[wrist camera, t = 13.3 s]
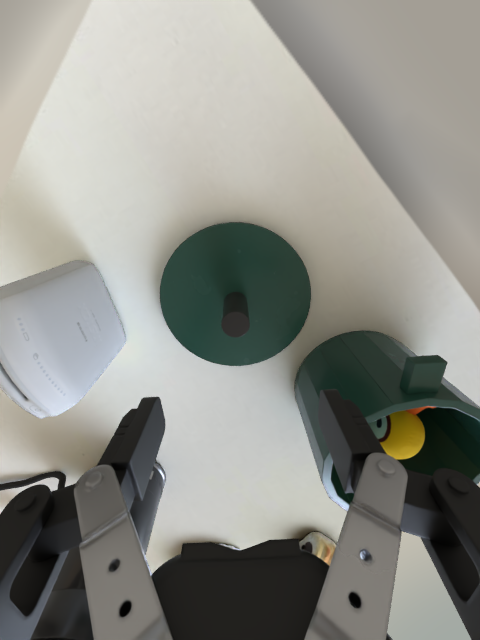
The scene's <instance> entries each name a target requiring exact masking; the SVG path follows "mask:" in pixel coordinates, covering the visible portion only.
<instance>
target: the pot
mask: <svg viewBox="0 0 480 640" xmlns="http://www.w3.org/2000/svg"><path fill="white" fill-rule="evenodd" d="M446 365H447V361H445V360H444V359H442V358H441V357H440V356H438V355H432V356H417V355H416V354H414V353H413V352H412V351H411V350H409V349H408V348H407V347H406V346H405V345H403V344H402V343H401V342H399V341H397V340H395V339H394V338H392V337H390V336H388V335H385V334H383V333H379V332H373V331H354V332H349V333H344V334H341V335H338V336H335V337H333V338H331V339H329V340H327V341H325V342H324V343H322V344H320V345H319V346H318V347H317V348H315V349H314V350H313V351H312V352H311V353H310V354H309V355H308V356H307V357H306V359H305V360H304V361H303V363H302V364H301V366H300V368H299V370H298V372H297V376H296V379H295V398H296V401H297V404H298V407H299V410H300V414H301V417H302V420H303V423H304V426H305V430H306V433H307V436H308V439H309V443H310V446H311V449H312V452H313V455H314V459H315V462H316V465H317V468H318V471H319V475H320V478H321V481H322V483H323V485H324V488H325V490H326V492H327V494H328V496H329V498H330V499H332V500H333V501H334V502H335V503H337V504H338V505H339V506H340V507H342V508H343V509H344V510H346V511H348V509H349V506H350V503H351V501H352V500H353V498H354V493H345V492H344V489H343V487H342V484H341V481H340V479H339V476H338V473H337V471H336V468H335V465H334V463H333V460H332V457H331V455H330V452H329V449H328V447H327V444H326V441H325V439H324V436H323V433H322V431H321V428H320V425H319V420H318V408H319V398H320V391H321V390H328V389H337V390H338V391H339V393H340V395H341V397H342V399H343V400H347V399H349V400H351V401H352V402H353V403H354V404H355V405H357V406H358V407H359V409H360V411H361V412H362V414H363V416H364V418H365V419H366V421H367V422H368V424H369V423H372V422H374V421H376V420H378V419H380V418H383V417H385V416H387V415H389V414H392V413H394V412H398V411H404V410H409V409H415V408H420V407H426V406H431V407H436V408H429V407H428V408H425V409H424V410H422V411H421V412H419V413H418V414H416V415H417V416H418V417H419V419H420V420H421V422H422V423H423V426H424V430H425V439H424V443H423V446H422V448H421V450H420V451H419V452H418V453H417V454H416V455H414V456H413V457H410V458H407V459H396V460H397V461H399V462H400V463H401V464H402V465H403V467H404V468H405V469H408V470H411V471H414V472H418V473H422V474H427V475H431V476H433V474H434V472H435V471H436V470H437V469H440V468H448V469H452V470H456V471H458V472H460V473H462V474H464V475H465V476H467V477H469V478H470V479H471V480H472V481H473V482H475V483H476V484H478V483H479V482H480V407H479V406H478V405H477V404H475V403H474V402H473V401H472V400H470V399H469V398H468V397H467V396H466V395H464V394H463V393H462V392H461V391H459V390H458V389H457V388H456V387H455V386H453V385H452V384H451V383H450V382H448V381H447V380H446V379H445V378H444V377H443V375H444V372H445V368H446Z"/></svg>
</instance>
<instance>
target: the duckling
mask: <svg viewBox="0 0 480 640" xmlns="http://www.w3.org/2000/svg"><path fill="white" fill-rule="evenodd" d="M428 407H429V408H436V407H431V406H426V407H420V408H415V409H409V410H404V411H398V412H394V413H392V414H389V415H387V416H385V417H383V418H380V419H378V420H376V421H374V422H372V423H369V424H368V425H369V426H370V427H371V429H372V431H373V432H374V434H375V436H376V437H377V439H378V441H379V442H380V444H381V446H382V447H383V449H384V450H385V452H386V454H387V455H389V456H391V457H393V458H395V459H407V458H410V457H413V456H414V455H416V454H417V453H418V452H419V451H420V450H421V448H422V446H423V443H424V439H425V430H424V426H423V423H422V422H421V420H420V419H419V417H418V416H417V415H416V414H418V413H419V412H421V411H422V410H424V409H425V408H428Z"/></svg>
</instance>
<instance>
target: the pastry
mask: <svg viewBox="0 0 480 640" xmlns="http://www.w3.org/2000/svg"><path fill="white" fill-rule="evenodd" d="M299 544H300V549H302V550H305V551H308V552H310V553H312V554H314V555H316V556H317V557H319V558H320V559H322V560H323V561H324V562H326V563H327V564H328V565H329V566H330V563H331V560H332V557H333V554H334V551H335V548H336V545H335V542H334V541H332V540H331V539H330V538H328V537H327V536H324V535H323V534H322V533H320V532H311V533H310V534H308V535H307V536H306V537H305V538H304V539H303V540H302V541H300V542H299Z"/></svg>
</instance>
